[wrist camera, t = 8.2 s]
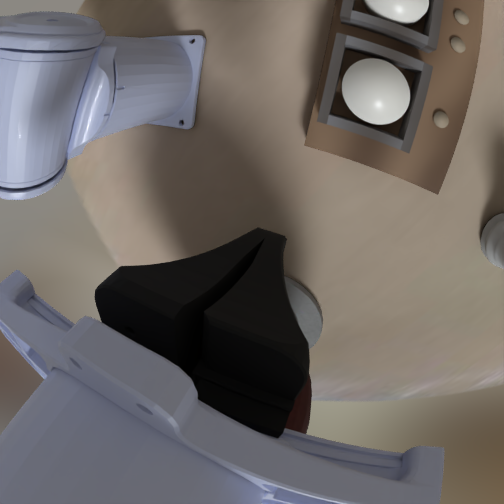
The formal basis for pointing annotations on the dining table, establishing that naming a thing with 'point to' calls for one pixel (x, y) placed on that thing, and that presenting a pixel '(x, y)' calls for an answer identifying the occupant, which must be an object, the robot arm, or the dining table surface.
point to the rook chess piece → (494, 240)
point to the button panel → (419, 81)
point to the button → (375, 91)
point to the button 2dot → (397, 10)
